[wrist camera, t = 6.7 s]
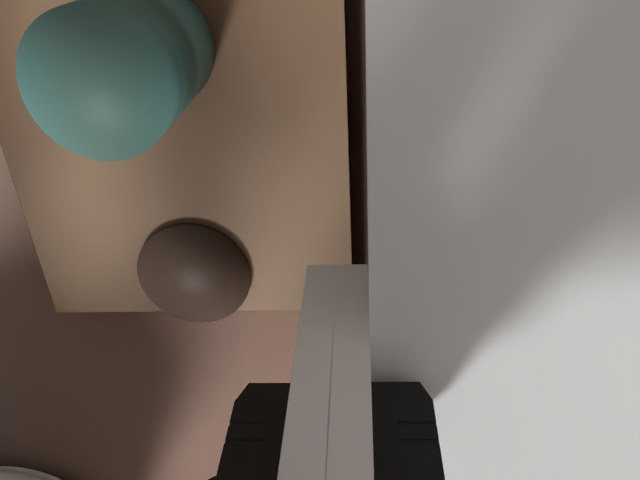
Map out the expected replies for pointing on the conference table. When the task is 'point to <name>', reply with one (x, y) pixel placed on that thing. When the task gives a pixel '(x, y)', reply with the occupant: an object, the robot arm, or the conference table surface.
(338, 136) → the board
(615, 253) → the cover
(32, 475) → the mug
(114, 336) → the conference table surface
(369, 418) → the robot arm
